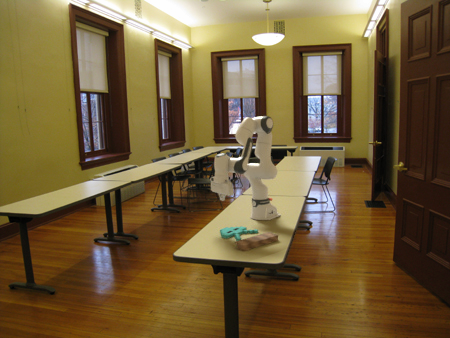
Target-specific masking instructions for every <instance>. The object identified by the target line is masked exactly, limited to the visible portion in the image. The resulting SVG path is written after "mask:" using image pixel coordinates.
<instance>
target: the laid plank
mask: <svg viewBox="0 0 450 338" xmlns="http://www.w3.org/2000/svg"><path fill="white" fill-rule="evenodd" d="M277 241H279V235H278V234H276V233H273V232H270V231H267V232H265V233H261V234H257V235H253V236H250V237H246V238H244V239H241V240H239V241H236V240H235V241H234V244H236V249H237V250H240V251H242V252H246V251H249V250H252V249H255V248H258V247H261V246H266V245H268V244H271V243H274V242H277Z"/></svg>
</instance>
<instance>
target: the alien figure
mask: <svg viewBox="0 0 450 338" xmlns="http://www.w3.org/2000/svg"><path fill="white" fill-rule="evenodd" d="M219 233H220V236H221V237H220V238H223V239H229V238H232V237H234V239H235V242H236V241H239V240H242V237H241V235H243V234H244V235H247V234H258V233H259V229H256V228H254V229H248V228H247V227H246V226H235V227H234V226H230V227H227V226H226V227H224V228H220V229H219Z"/></svg>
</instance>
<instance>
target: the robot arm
mask: <svg viewBox="0 0 450 338" xmlns="http://www.w3.org/2000/svg"><path fill="white" fill-rule="evenodd" d="M273 128H274V121H273V118H272V117H271V116H270V115H268V116H267V115H263V116H262V115H261V116H256V117H245V118H244V119H243V120H242V121H241V123H240V124H239V126H238V128H237V130H236V132H235V135H234V137H235V140H236V142H238V144H239V145H241V146H243V149H242V152H241V156H239V157H231V156H229V155H228V154H227V153H218V154H216V155H215V156H214V163H213V164H214V165H213V166H214V168H213V169H214V176H211V177H210V179H209V180H210V191H212V192H213V193H217V194H218V196H219V201H222V202H224V201H226V196H234V194H235V192H234V185H233V182H232V181H231V180H229V179H230V178H229V173H230V174H231V173H233V174H234V173H235V174H240V175H243V176H244V177H245V178H246V179H247V180H248V181H249V184H250V186H251V195H252V198H251V212H250V213H251V214H250V218H251V220H256V221H257V220H258V221H270V220H273V219H276V218H279V217H281V216H282V215H281V213H279V212H278V208H277V207H276V205H274V204H272V203H271V202H273V198H272V197H269V187H268V186H267V185H266V184H265V183H264V182H263V180H273V179H275V178H276V177H277V175H278V169H277V168H278V167H276V165H274V163H273V162H272V158H271V155H272V154H271V153H272V144H273V133H272V131H273ZM254 133H255V134H257V138H256V143H255V149H254V155H255V157H256V158H257V159H259V162H257V163H256V162H250V159H251V155H252V151H253V146H254V140H253V136H254ZM249 162H250V163H249Z"/></svg>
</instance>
